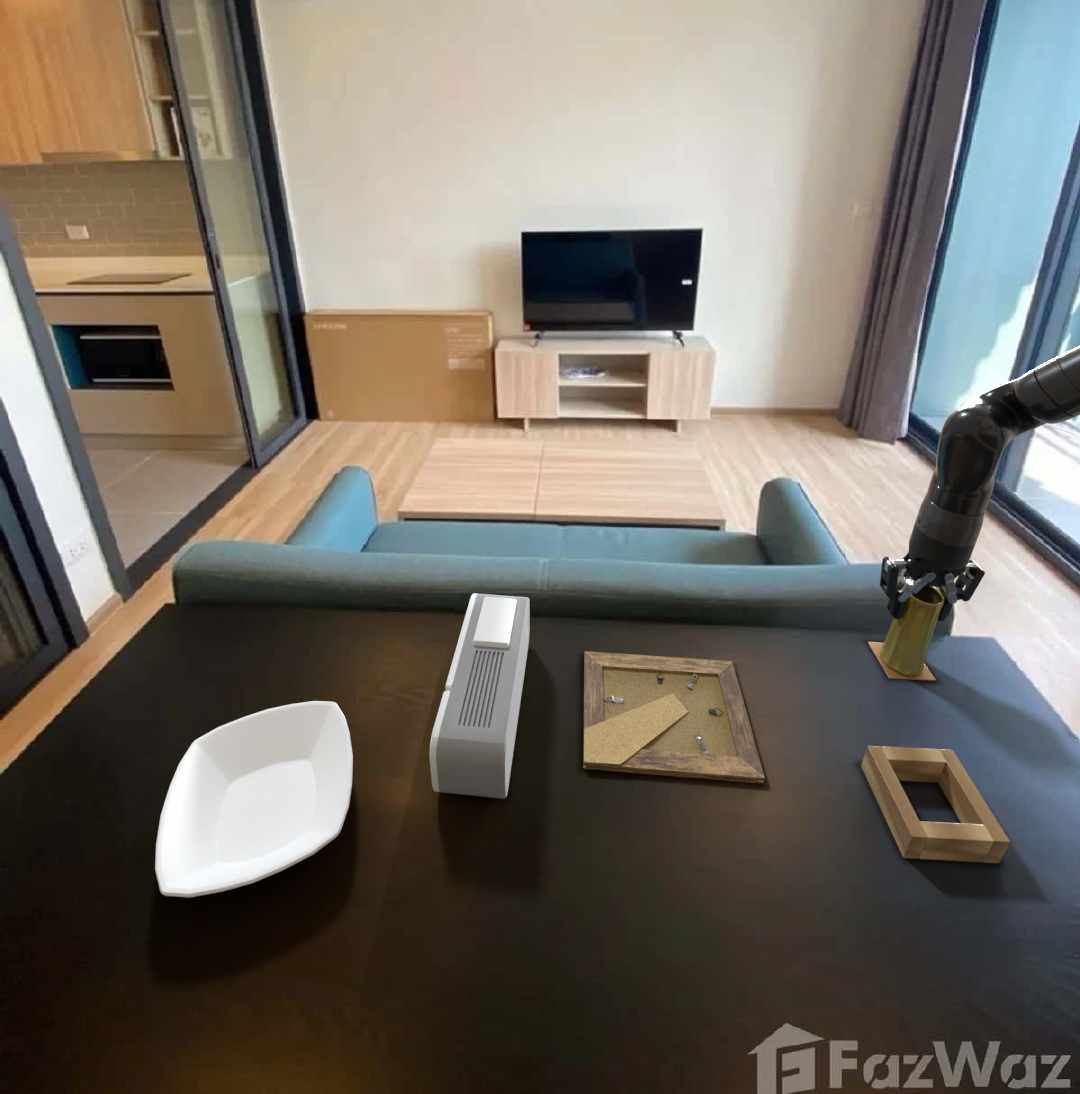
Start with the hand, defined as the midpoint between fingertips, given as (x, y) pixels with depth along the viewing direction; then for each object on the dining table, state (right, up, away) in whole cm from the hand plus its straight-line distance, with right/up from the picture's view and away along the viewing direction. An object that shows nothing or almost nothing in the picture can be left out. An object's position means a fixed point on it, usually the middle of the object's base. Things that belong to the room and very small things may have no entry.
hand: (915, 615), depth 91 cm
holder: (-10, -18, -17) cm, 27 cm away
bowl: (-93, -18, -17) cm, 97 cm away
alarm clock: (-67, -13, -5) cm, 68 cm away
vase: (0, -9, +4) cm, 10 cm away
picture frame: (-41, -13, -5) cm, 43 cm away
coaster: (0, -9, +4) cm, 10 cm away
